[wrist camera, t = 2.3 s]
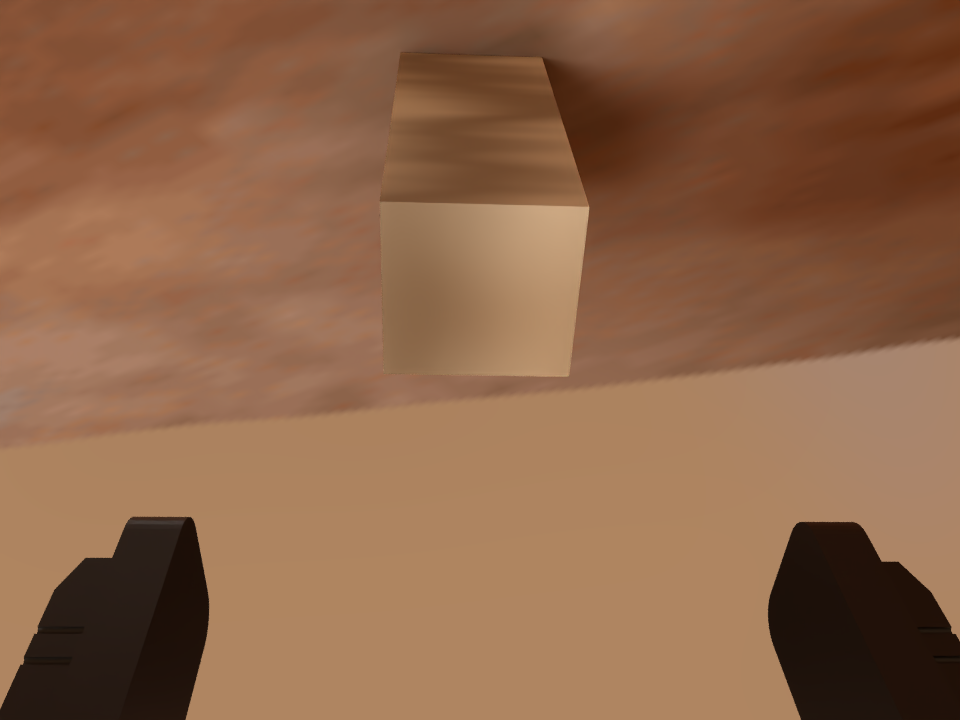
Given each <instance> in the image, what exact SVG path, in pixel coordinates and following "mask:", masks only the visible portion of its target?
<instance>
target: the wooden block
mask: <svg viewBox="0 0 960 720" xmlns="http://www.w3.org/2000/svg"><path fill="white" fill-rule="evenodd" d="M588 215H589V204H588V201H587V198H586V194H585V191H584V188H583V185H582V182H581V179H580V175H579V172H578V169H577V166H576V163H575V160H574V157H573V153H572V150H571V147H570V144H569V141H568V138H567V135H566V131H565V128H564V125H563V122H562V119H561V116H560V113H559V109H558V106H557V103H556V100H555V97H554V94H553V91H552V87H551V84H550V81H549V78H548V75H547V72H546V69H545V65H544V62H543V59H542V57H519V56H489V55H460V54H430V53H400V60H399V67H398V75H397V82H396V89H395V96H394V103H393V110H392V118H391V125H390V132H389V139H388V146H387V153H386V160H385V168H384V175H383V182H382V189H381V196H380V235H381V280H382V324H383V369H384V374H419V375H485V376H551V377H569V371H570V363H571V355H572V346H573V338H574V330H575V322H576V314H577V305H578V297H579V289H580V281H581V272H582V264H583V256H584V248H585V240H586V231H587V223H588Z"/></svg>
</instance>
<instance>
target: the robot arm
mask: <svg viewBox="0 0 960 720" xmlns="http://www.w3.org/2000/svg"><path fill="white" fill-rule="evenodd" d="M208 621H209V598H208V590H207V585H206V580H205V575H204V569H203V564H202V558H201V553H200V548H199V542H198V537H197V532H196V527H195V523H194V521H193V519H192V518H191V517H132V518H130V519H129V520H128V522H127V523H126V525H125V528H124V530H123V532H122V535H121V537H120V540H119V542H118V545H117V547H116V550H115V552H114V555H113V557H112V558H85V559H84V560H83V561H82V562H81V563H80V564H79V565H78V566H77V568H75V569H74V570H73V572H71V573H70V575H69V576H68V577H67V578H66V579H65V580H64V581H63V582H62V583H61V584H60V585H59V586H58V587H57V588H56V589H55V590H54V592H53V594H52V596H51V599H50V601H49V603H48V605H47V608H46V610H45V612H44V614H43V616H42V618H41V621H40V623H39V625H38V632H37V634H34V636H33V638H32V641H31V643H30V645H29V647H28V649H27V652H26V654H25V656H24V663H23V665H20V667H19V669H18V671H17V673H16V676H15V678H14V680H13V682H12V685H11V687H10V689H9V691H8V693H7V696H6V698H5V700H4V702H3V704H2V707H1V709H0V720H185V719H186V715H187V712H188V707H189V704H190V700H191V696H192V692H193V689H194V685H195V681H196V677H197V673H198V669H199V665H200V662H201V658H202V654H203V650H204V646H205V641H206V637H207V630H208ZM768 622H769V629H770V635H771V639H772V642H773V646H774V648H775V651H776V654H777V656H778V659H779V662H780V664H781V667H782V670H783V672H784V675H785V678H786V680H787V683H788V686H789V688H790V691H791V693H792V696H793V699H794V702H795V704H796V707H797V710H798V712H799V715H800V718H801V720H960V641H959V639H958V637H957V636H956V634H952V632H951V626H950V624H949V622H948V620H947V619H946V617H945V615H944V614H943V612H942V610H941V608H940V607H939V605H938V603H937V601H936V600H935V598H934V596H933V595H932V593H931V592H930V591H929V590H928V589H927V588H926V587H925V586H924V585H923V584H921V582H920V581H918V580H917V579H916V578H915V577H914V576H913V575H912V574H911V573H910V572H909V571H908V570H907V569H905V568H904V567H903V566H902V565H901V564H900V563H899V562H881V560H880V558H879V556H878V554H877V552H876V551H875V549H874V547H873V545H872V543H871V541H870V539H869V538H868V536H867V534H866V532H865V531H864V529H863V528H862V527H861V526H860V525H859V524H857V523H854V522H799V523H797V524H796V525H795V527H794V528H793V530H792V533H791V536H790V539H789V542H788V544H787V547H786V550H785V553H784V556H783V559H782V562H781V565H780V568H779V571H778V574H777V577H776V580H775V583H774V586H773V589H772V591H771V594H770V599H769V605H768Z"/></svg>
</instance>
